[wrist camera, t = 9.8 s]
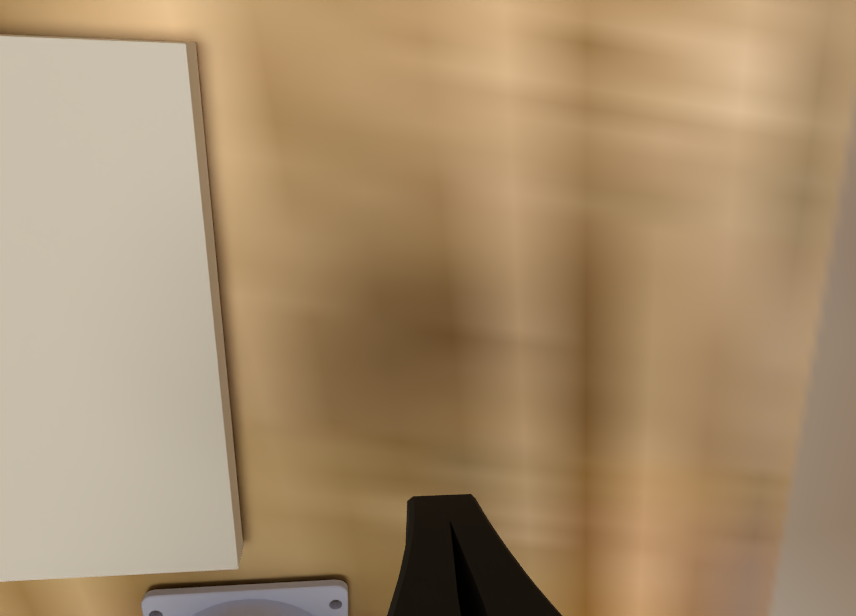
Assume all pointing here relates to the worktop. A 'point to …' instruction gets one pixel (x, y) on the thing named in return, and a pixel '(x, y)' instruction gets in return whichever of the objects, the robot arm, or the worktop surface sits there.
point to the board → (109, 316)
